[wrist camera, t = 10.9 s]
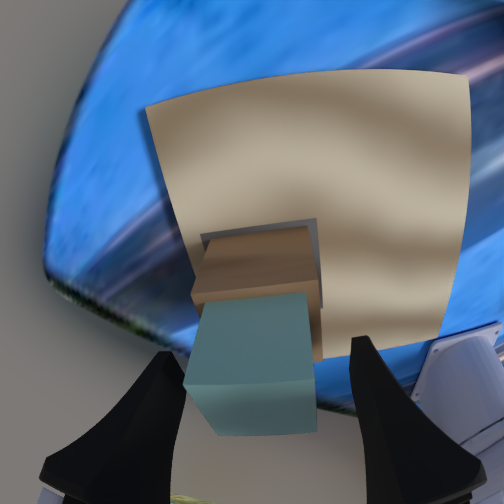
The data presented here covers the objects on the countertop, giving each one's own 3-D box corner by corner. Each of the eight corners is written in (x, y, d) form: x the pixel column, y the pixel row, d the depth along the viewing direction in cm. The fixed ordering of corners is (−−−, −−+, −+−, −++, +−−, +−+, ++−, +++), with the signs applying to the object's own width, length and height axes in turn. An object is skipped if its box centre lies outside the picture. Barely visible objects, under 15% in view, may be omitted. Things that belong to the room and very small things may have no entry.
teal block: (311, 356, 13) (317, 431, 10) (228, 363, 14) (217, 435, 10) (305, 291, 11) (314, 378, 8) (205, 302, 12) (182, 384, 8)
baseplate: (433, 330, 19) (437, 337, 19) (230, 358, 22) (229, 366, 21) (459, 75, 10) (467, 76, 10) (151, 105, 13) (144, 107, 12)
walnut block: (315, 301, 17) (323, 361, 13) (232, 310, 18) (222, 369, 14) (307, 225, 15) (318, 279, 11) (210, 239, 15) (190, 293, 12)
